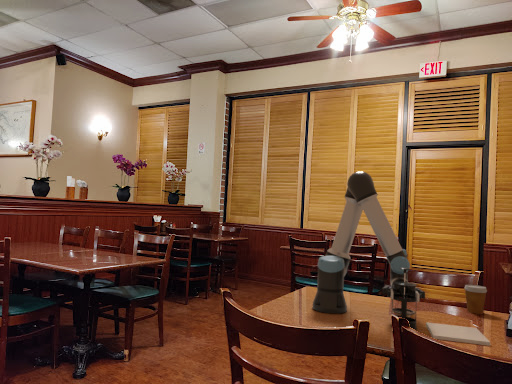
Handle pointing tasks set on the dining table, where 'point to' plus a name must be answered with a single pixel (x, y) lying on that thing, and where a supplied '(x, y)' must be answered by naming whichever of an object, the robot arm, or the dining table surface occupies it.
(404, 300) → the french press
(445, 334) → the ceramic trivet
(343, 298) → the robot arm
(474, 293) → the disposable coffee cup
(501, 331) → the dining table surface
